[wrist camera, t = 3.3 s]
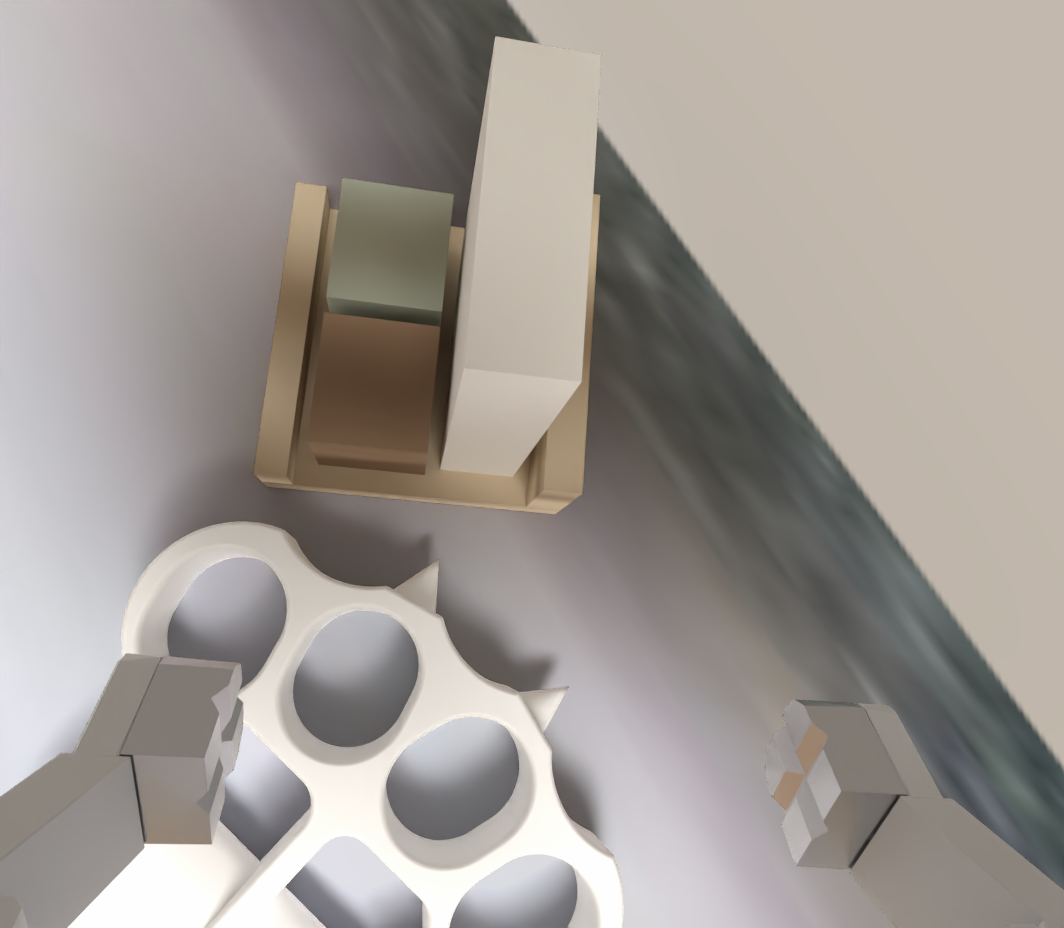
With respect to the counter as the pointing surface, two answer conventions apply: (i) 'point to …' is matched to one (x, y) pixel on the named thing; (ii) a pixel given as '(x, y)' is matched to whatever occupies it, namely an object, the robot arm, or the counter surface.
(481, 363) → the cream board
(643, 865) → the counter surface
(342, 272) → the offcuts
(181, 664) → the robot arm
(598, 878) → the knuckle duster
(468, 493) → the oak rack
